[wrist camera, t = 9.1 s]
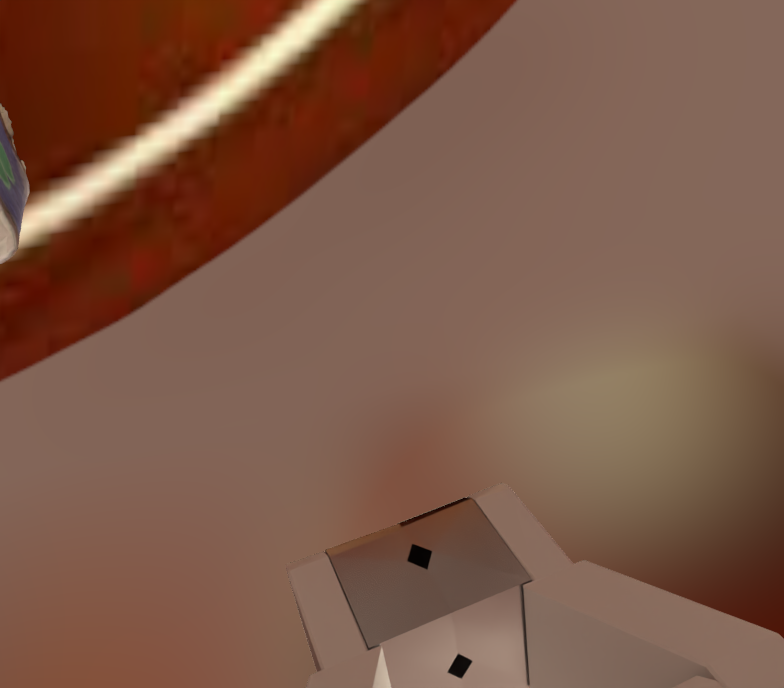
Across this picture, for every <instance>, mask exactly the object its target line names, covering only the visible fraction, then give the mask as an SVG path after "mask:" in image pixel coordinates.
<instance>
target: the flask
mask: <svg viewBox="0 0 784 688" xmlns="http://www.w3.org/2000/svg"><path fill="white" fill-rule="evenodd" d="M4 108H5V107H2V105H1V104H0V264H2V263H4V262H5V261H7V260H8V259H10V258H11V257H12V256H14V254H15V252H16V251H17V249H18V245H19V234H20V231H21V223H22V217H23V211H24V207H25V205H26V202H27V197H28V195H29V182H28V179H27V176H26V171H25V170H26V166H25V165H24V162H23V161H22V160H20V159H19V157H18V155H17V153H16V149H15V145H14V144H13V141H14V139H13V137H12V135H13V130H12V128H11V122H12V121H11V120H10V119H9V118H8V113H7V111H6V110H5V109H4Z"/></svg>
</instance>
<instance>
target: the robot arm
mask: <svg viewBox="0 0 784 688" xmlns="http://www.w3.org/2000/svg"><path fill="white" fill-rule="evenodd" d="M286 569H287V574H288V577H289V580H290V584H291V587H292V591H293V594H294V597H295V601H296V604H297V608H298V611H299V614H300V618H301V621H302V625H303V628H304V631H305V634H306V638H307V641H308V645H309V648H310V651H311V654H312V657H313V661H314V664H315V667H316V670H317V672H316V673H314V674H312V675H310V676H309V679H308V682H307V685H306V688H529V687H530V688H784V639H783V638H782V637H781V636H780V635H779V634H778V633H775V632H773V631H770V630H767V629H765V628H762V627H759V626H757V625H754V624H751V623H749V622H746V621H744V620H741V619H738V618H736V617H733V616H730V615H728V614H725V613H722V612H720V611H717V610H715V609H712V608H709V607H707V606H704V605H701V604H699V603H696V602H694V601H691V600H688V599H685V598H683V597H680V596H678V595H675V594H672V593H670V592H667V591H665V590H662V589H659V588H657V587H654V586H651V585H649V584H646V583H643V582H641V581H638V580H635V579H633V578H630V577H628V576H625V575H622V574H619V573H617V572H614V571H612V570H609V569H606V568H604V567H601V566H599V565H596V564H593V563H591V562H588V561H585V560H583V561H580V562H578V563H575V564H573V563H572V561H571V560H570V559H569V558H568V557H567V555H566V554H565V553H564V552H563V551H562V549H561V548H560V547H559V546H558V545H557V543H556V542H555V541H554V540H553V539H552V537H551V536H550V535H549V534H548V533H547V531H546V530H545V529H544V528H543V527H542V525H541V524H540V523H539V522H538V520H537V519H536V518H535V517H534V516H533V514H532V513H531V512H530V511H529V510H528V508H527V507H526V506H525V505H524V504H523V502H522V501H521V500H520V499H519V498H518V496H517V495H516V494H515V493H514V492H513V490H512V489H511V488H510V487H509V486H508V485H506V484H504V483H500V484H497V485H495V486H492V487H490V488H487V489H484V490H482V491H479V492H477V493H474V494H472V495H469V496H468V497H467V498H465V497H464V498H462V499H459V500H457V501H454V502H451V503H449V504H446V505H444V506H441V507H439V508H436V509H434V510H431V511H428V512H426V513H423V514H421V515H418V516H416V517H413V518H411V519H408V520H405V521H403V522H400V523H398V524H397V525H394V526H391V527H388V528H385V529H383V530H380V531H377V532H374V533H371V534H369V535H366V536H363V537H360V538H357V539H354V540H351V541H349V542H346V543H343V544H340V545H338V546H334V547H332V548H329V549H326V550H325V552H321V553H318V554H315V555H312V556H309V557H306V558H303V559H300V560H297V561H294V562H291V563H289V564H286Z"/></svg>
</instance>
